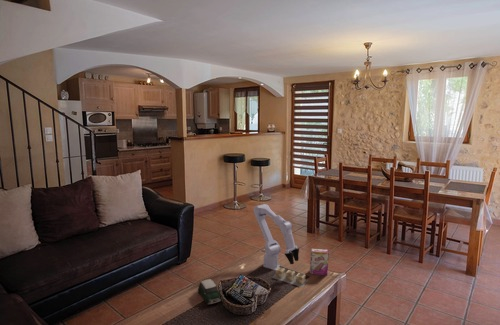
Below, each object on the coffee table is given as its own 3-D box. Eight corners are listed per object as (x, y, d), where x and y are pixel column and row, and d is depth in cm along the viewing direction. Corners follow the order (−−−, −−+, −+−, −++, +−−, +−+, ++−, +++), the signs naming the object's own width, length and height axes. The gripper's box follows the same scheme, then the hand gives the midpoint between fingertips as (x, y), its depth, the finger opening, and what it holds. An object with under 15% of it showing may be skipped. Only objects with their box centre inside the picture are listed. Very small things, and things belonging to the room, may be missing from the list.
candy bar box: (310, 275, 205) (311, 251, 202) (309, 271, 210) (310, 248, 207) (327, 276, 204) (328, 252, 201) (326, 272, 209) (327, 249, 206)
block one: (275, 276, 201) (275, 269, 201) (278, 273, 205) (278, 266, 204) (281, 278, 199) (282, 271, 198) (284, 275, 203) (285, 268, 202)
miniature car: (207, 308, 169) (207, 294, 168) (197, 291, 185) (196, 278, 184) (223, 303, 173) (223, 290, 172) (211, 287, 189) (211, 275, 188)
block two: (295, 282, 194) (296, 275, 194) (298, 279, 198) (298, 272, 197) (302, 284, 192) (302, 277, 191) (305, 281, 196) (305, 274, 195)
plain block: (285, 279, 198) (285, 272, 197) (288, 276, 202) (288, 269, 201) (292, 281, 196) (292, 274, 195) (294, 278, 199) (295, 271, 199)
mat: (271, 278, 200) (271, 277, 200) (278, 271, 208) (278, 271, 208) (302, 288, 189) (302, 287, 189) (308, 280, 198) (308, 279, 198)
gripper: (290, 242, 191) (295, 264, 189) (299, 237, 204) (304, 258, 202) (280, 243, 195) (285, 265, 193) (289, 239, 207) (294, 260, 205)
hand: (294, 262), depth 197 cm, fingers open, 7 cm apart
